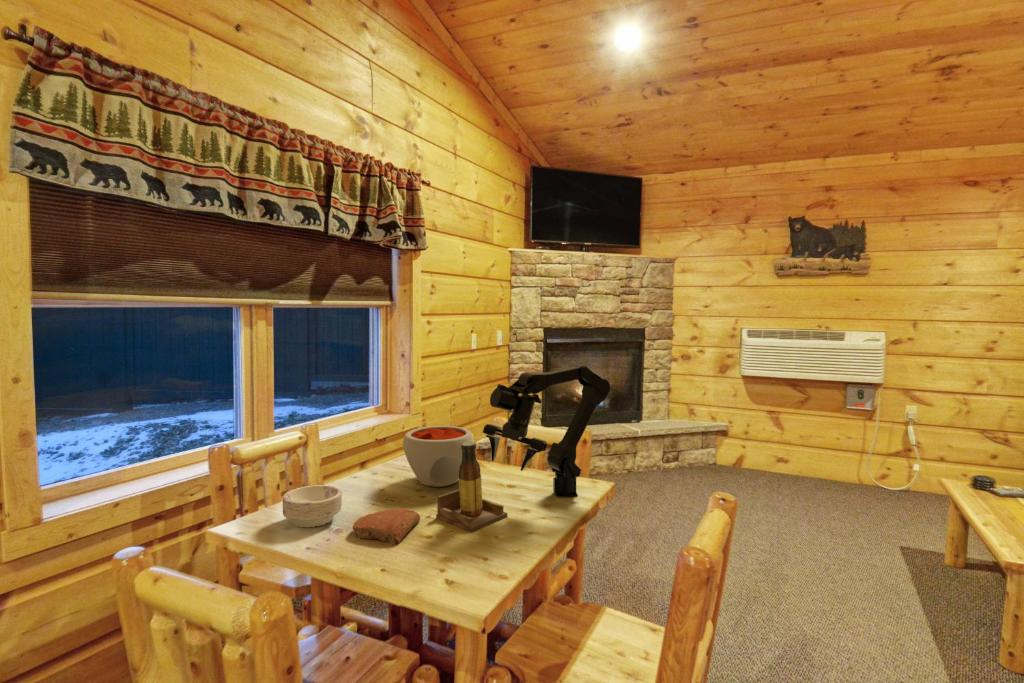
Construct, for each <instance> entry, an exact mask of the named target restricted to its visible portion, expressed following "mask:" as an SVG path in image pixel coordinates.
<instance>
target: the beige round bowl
mask: <svg viewBox="0 0 1024 683" xmlns="http://www.w3.org/2000/svg"><path fill="white" fill-rule="evenodd" d="M342 492H343V491H342V490H341V489H340V488H339V487H337V486H334V485H325V484H323V485H322V484H321V485H320V484H317V485H315V484H314V485H307V486H300V487H298V488H293V489H291V490H288V491H287V492H286V493H285V494H283V496H282V515H283V517H285V519H288V520H290V522H292V524H293V525H294V526H296V527H298V526H299V527H298V528H303V527H312V528H316V527H315V526H318V527H321V526H320V525H322V526H324V525H327V524H328V523H330V522H331V521H332V520H333V519H334V517H335V516H336V515H337V514H339V513H340V512H341V510H342V506H343V502H342V500H343V497H342V496H343V493H342ZM326 523H327V524H326ZM323 524H324V525H323Z"/></svg>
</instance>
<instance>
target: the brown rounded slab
mask: <svg viewBox="0 0 1024 683" xmlns="http://www.w3.org/2000/svg"><path fill="white" fill-rule="evenodd" d="M420 521H421V515H420V514H419V513H418V512H417V511H414V510H410V509H406V508H404V509H403V508H401V509H400V508H399V509H384V510H381V511H379V510H378V511H376V512H375V511H374V512H373V513H369V514H365V515H364V516H360V517H359V518H358V519H357V520H356V521H355V522H354V523H353V525H352V530H353V531H354V533H356V536H357V538H358V539H359V538H367V539H366V540H380V541H382V542H386V541H387V543H390V542H391V543H390V544H393V543H394V544H393V545H399V544H400V543H401V541H402V539H403V538H404V537H405V536H406V535H407V534H408V532H410V531H411V529H412V528H413V527H414V526H415V525H417V524H418V522H419V523H420ZM398 543H399V544H398Z"/></svg>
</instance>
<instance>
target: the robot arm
mask: <svg viewBox="0 0 1024 683" xmlns="http://www.w3.org/2000/svg"><path fill="white" fill-rule="evenodd" d="M576 380H577V382H578V383H579V384H580V385H581V386H582V390H581V401H580V403H579V405H578V407H577V410H576V411H575V413H574V415H573V417H572V420H571V422H570V423H569V425H568V427H567V429H566V432H565V433H564V436H563V438H562V439H561V440H560V441H559V442H558V443H557V442H553V443H552V444H551V446H550V449H549V450H548V452H547V454H548V455H547V459H546V460H547V464H548V466H550V469H551V472H553V473H554V477H553V478H552V481H553V482H552V483H553V484H552V487H553V488H552V490H553V492H554V493H556V494H555V496H556V495H557V496H565V497H578V496H579V494H578V492H577V478H580V475H581V472H582V469H581V468H580V467H579V466H578V464H576V463H575V462H576V459H577V447H578V444H579V443H580V441H581V439H582V437H583V434H584V432H585V430H586V428H587V426H588V424H589V422H590V420H591V418H592V415H593V414H594V411H595V409H596V408H597V407H598V406H599V405H600V404H601V403H603V402H604V401H605V400H606V399H607V397H608V396H609V395H610V392H611V390H612V389H611V388H612V387H611V384H610V382H609V381H608V380H607V379H606V378H602V377H601V376H600V375H598V374H597V373H595V372H594V371H592V370H591V369H590V368H588V367H587V366H586V365H580V364H576V365H574V366H569V367H565V368H560V369H556V370H552V371H547V372H538V371H536V372H533V371H532V372H531V371H530V372H527V371H525V372H523V373H521V374H519V377H518V379H516V381H514V383H512V384H511V385H510V386H506V385H504V384H500V383H498V384H497V386H496V388H494V390H492V392H491V394H490V396H489V403H490V406H491V408H495V409H500V410H504V411H508V412H511V415H510V416H509V419H508V420H507V421H506V422H505V423H503V425H502V426H498V425H497V424H496V425H495V424H492V423H486V424H485V425H484V426H483V430H482V433H483V434H485V436H486V438H488V439H489V443H490V449H491V450H490V454H491V462H494V461H495V459H496V456H497V452H498V448H499V444H500V441H501V438H506V439H509V440H511V441H516V442H517V443H518V442H519V443H522V444H525V445H529V447H528V448H527V449H526V453H525V455H524V458H523V462H522V464H521V467H520V472H523V470H525V468H526V467H527V465H528V464H529V462H530V461H531V459H532V458H533V457H534V456H535V455H536V454H538V453H541V452H545V451H546V450H547V447H548V442H547V440H544V439H540V438H539V437H538V438H537V437H531V438H528V437H527V435H528V431H529V430H528V428H529V424H531V418H532V414H533V410H534V407H535V405H536V404H535V403H537V404H542V403H543V402H542V400H541V398H540V396H539V393H542V392H543V391H546V390H548V388H550V387H552V386H554V385H555V386H556V385H558V384H560V385H561V384H563V383H568V382H573V381H576ZM520 394H521V395H520ZM557 496H556V497H557Z"/></svg>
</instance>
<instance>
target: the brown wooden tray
mask: <svg viewBox="0 0 1024 683" xmlns="http://www.w3.org/2000/svg"><path fill="white" fill-rule="evenodd" d="M436 499H437V502H436V503H437V514H435V518H436V519H437V520H440V521H443V522H444V523H448V524H450V525H453V526H455V527H456V528H460V529H462V530H465V531H467V532H469V533H473V532H475V531H478V530H480V529H482V528H484V527H486V526H489V525H491V524H493V523H495V522H498V521H500V520H504V518H507V517H508V512H505V511H504V505H503V504H500V503H497V502H494V501H491V500H488V499H485V498H482V513H481V514H479V515H476V516H465V515H463V514H462V513H461V508H460V492H459V488H457V489H455V490H453V491H452V490H451V491H448V492H447V493H443V494H441V495H437V497H436Z"/></svg>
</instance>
